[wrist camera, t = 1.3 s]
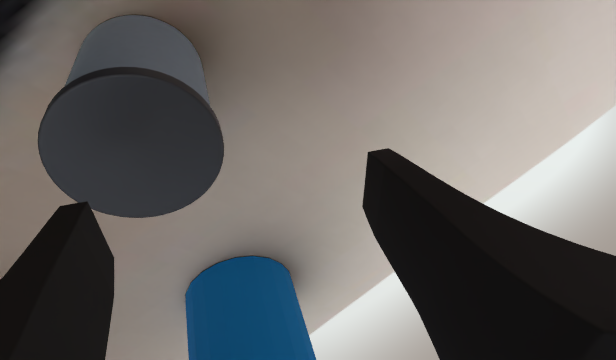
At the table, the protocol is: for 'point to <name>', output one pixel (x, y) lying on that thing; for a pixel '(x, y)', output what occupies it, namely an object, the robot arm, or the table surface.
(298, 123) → the table surface
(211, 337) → the bottle
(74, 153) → the plastic tub
